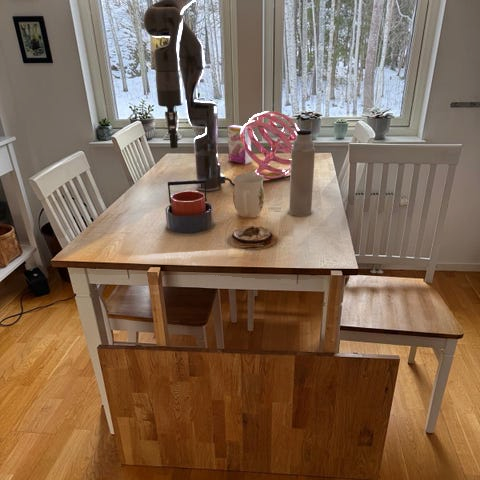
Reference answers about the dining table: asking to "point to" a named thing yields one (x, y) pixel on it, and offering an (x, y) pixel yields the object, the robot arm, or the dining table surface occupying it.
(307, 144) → the thermos bottle
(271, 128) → the spiral basket
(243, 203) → the pitcher
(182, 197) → the red bucket
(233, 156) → the candy bar box
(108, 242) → the dining table surface
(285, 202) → the dining table surface
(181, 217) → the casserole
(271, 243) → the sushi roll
